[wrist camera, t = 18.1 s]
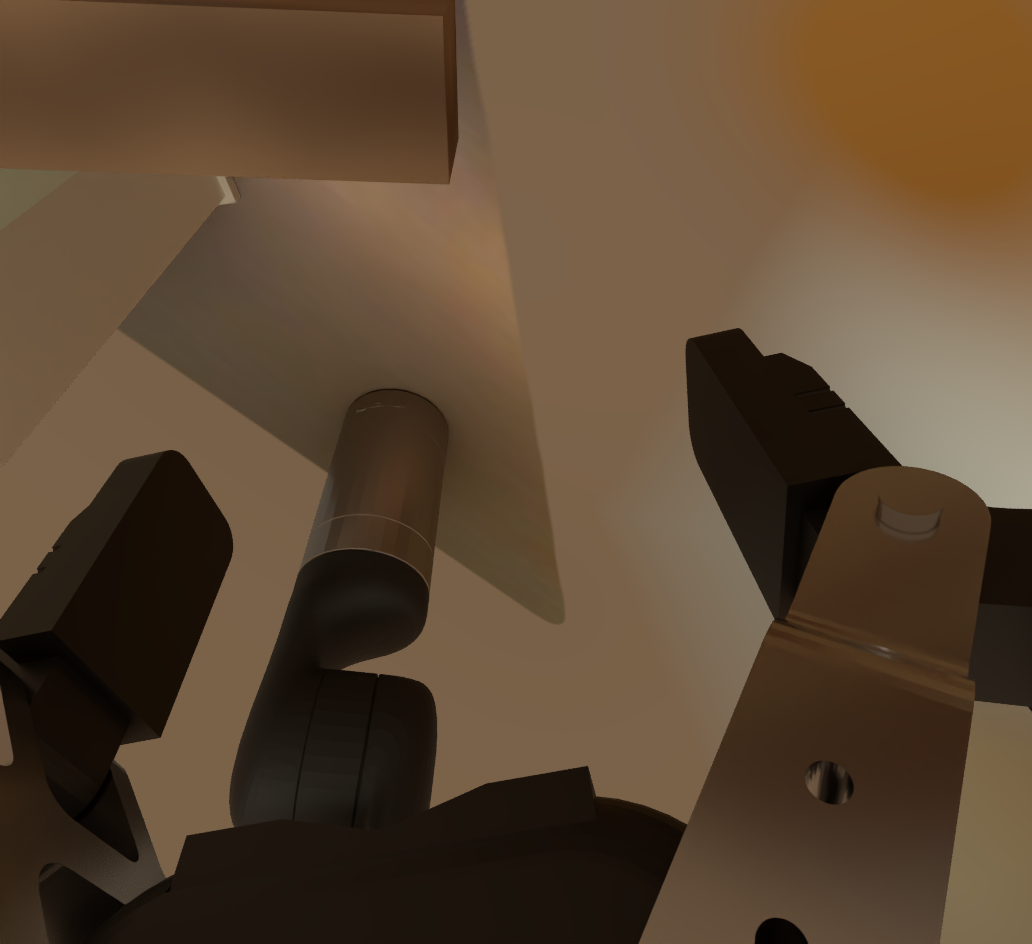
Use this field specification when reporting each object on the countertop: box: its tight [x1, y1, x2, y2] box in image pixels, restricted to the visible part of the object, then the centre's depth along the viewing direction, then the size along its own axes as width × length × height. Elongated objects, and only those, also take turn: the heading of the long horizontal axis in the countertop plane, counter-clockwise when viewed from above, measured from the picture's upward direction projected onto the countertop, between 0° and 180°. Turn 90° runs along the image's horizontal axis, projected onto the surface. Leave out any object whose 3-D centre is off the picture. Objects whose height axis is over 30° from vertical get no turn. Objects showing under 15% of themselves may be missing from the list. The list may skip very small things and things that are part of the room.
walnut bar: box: [0, 0, 458, 184], centre depth 18 cm, size 4×22×4 cm, turn 88°
